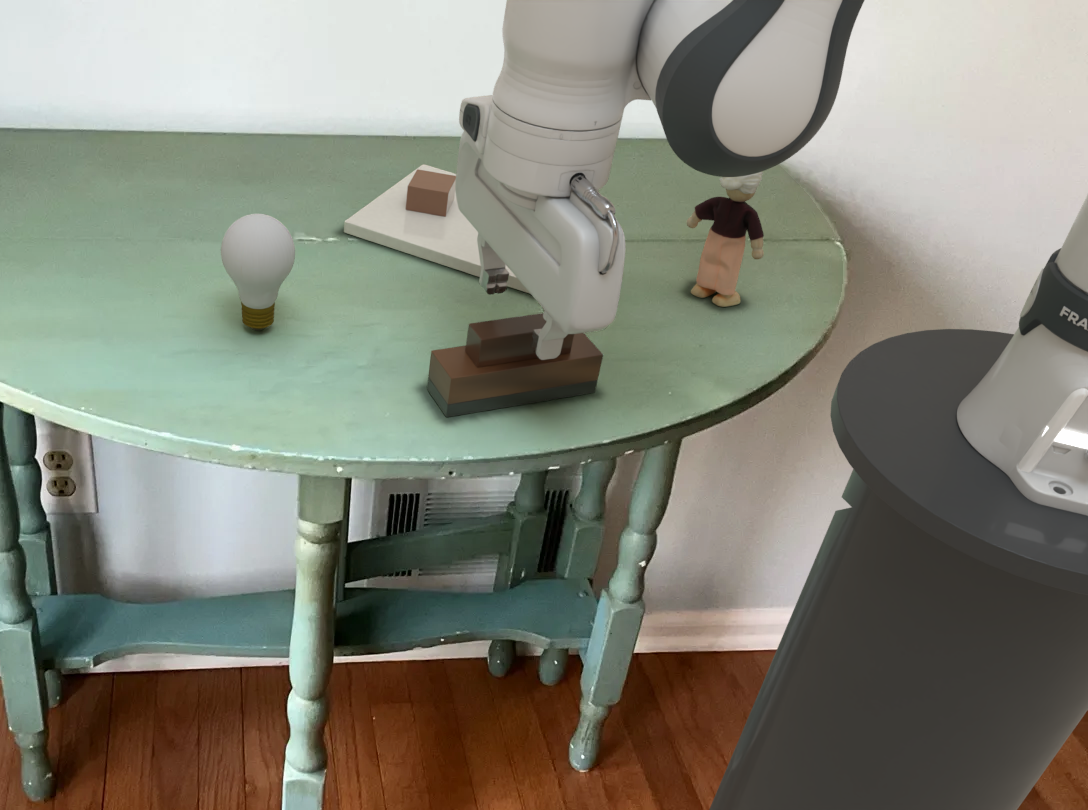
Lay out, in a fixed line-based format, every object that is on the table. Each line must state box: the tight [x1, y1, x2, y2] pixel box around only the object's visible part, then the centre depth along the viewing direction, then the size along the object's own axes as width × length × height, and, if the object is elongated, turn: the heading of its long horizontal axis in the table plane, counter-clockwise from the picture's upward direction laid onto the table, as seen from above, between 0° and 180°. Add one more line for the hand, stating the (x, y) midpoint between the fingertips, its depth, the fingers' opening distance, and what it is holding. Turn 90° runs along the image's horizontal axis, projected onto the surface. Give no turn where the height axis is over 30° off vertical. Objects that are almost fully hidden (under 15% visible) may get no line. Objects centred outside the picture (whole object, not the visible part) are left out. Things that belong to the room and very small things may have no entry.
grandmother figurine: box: [685, 171, 765, 308], centre depth 104 cm, size 8×4×13 cm, turn 57°
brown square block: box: [406, 168, 456, 217], centre depth 115 cm, size 4×4×2 cm
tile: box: [343, 163, 531, 295], centre depth 115 cm, size 20×16×1 cm
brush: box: [426, 312, 604, 418], centre depth 93 cm, size 13×4×6 cm, turn 110°
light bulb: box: [220, 213, 296, 332], centre depth 96 cm, size 6×6×10 cm
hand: (517, 320), depth 91 cm, fingers open, 8 cm apart
